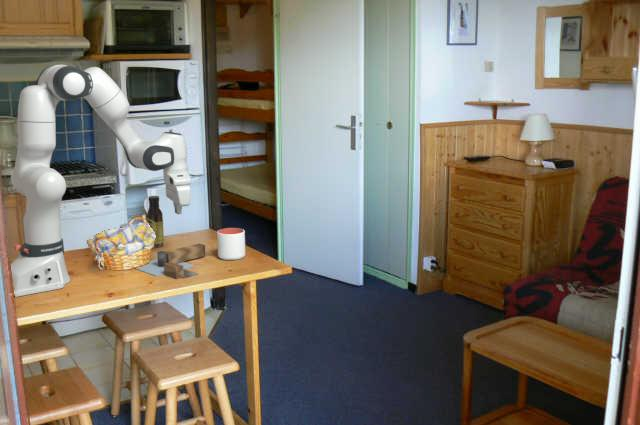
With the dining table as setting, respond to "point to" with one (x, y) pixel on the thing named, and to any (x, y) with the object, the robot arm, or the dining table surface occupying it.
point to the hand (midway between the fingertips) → (178, 213)
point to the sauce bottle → (156, 220)
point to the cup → (231, 243)
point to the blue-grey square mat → (159, 268)
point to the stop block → (177, 271)
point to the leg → (181, 254)
